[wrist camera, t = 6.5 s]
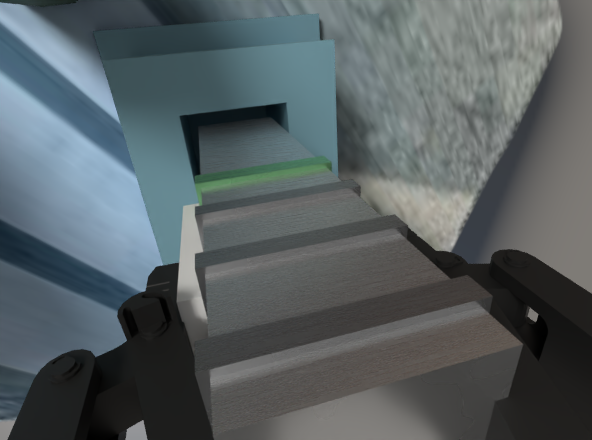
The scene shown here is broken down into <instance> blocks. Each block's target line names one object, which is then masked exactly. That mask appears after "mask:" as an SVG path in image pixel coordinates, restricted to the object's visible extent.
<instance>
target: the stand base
mask: <svg viewBox="0 0 592 440" xmlns="http://www.w3.org/2000/svg"><path fill="white" fill-rule="evenodd" d="M93 33H94V37H95V40H96V43H97V47H98V50H99V53H100V57H101V60H102V63H103V67H104V70H105V73H106V77H107V80H108V83H109V87H110V90H111V93H112V97H113V100H114V103H115V107H116V110H117V113H118V117H119V120H120V123H121V126H122V130H123V133H124V136H125V140H126V143H127V146H128V150H129V153H130V156H131V160H132V163H133V166H134V170H135V173H136V176H137V180H138V183H139V186H140V190H141V193H142V196H143V200H144V203H145V206H146V210H147V213H148V216H149V220H150V223H151V226H152V230H153V233H154V236H155V239H156V242H157V246H158V249H159V252H160V256H161V259H162V262H163V265H166V264H171V263H176V262H179V260H180V246H181V231H182V217H183V206H186V205H191V204H197V203H199V201H198V197H197V192H196V188H195V176H196V175H201V173H200V151H199V130H198V126H205V125H212V124H220V123H228V122H235V121H243V120H251V119H258V118H266V117H271V118H272V119H273V120H275V121H276V122H277V123H278V124H279V125H280V126H281V127H282V128H283V129H285V130H286V131H287V132H288V133H289V134H290V135H291V136H292V137H293V138H295V139H296V140H297V141H298V142H299V143H300V144H301V145H302V146H303V147H305V148H306V149H307V150H308V151H309V152H310V153H311V154H312V155H313V156H315V157H318V156H325V157H326V158H327V159H328V160H330V161H331V162H332V173H333V174H335V175H336V176H337V177H338V154H337V119H336V83H335V47H334V39H333V40H320V32H319V14H307V15H294V16H281V17H268V18H255V19H242V20H229V21H216V22H204V23H191V24H178V25H165V26H152V27H139V28H126V29H113V30H100V31H93Z"/></svg>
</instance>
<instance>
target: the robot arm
mask: <svg viewBox="0 0 592 440" xmlns="http://www.w3.org/2000/svg"><path fill="white" fill-rule="evenodd" d="M195 206H200V205H199V203H197V204H191V205H186V206H183V217H182V231H181V246H180V260H179V262H178V263H173V264H168V265H163V266H158V267H156V268H155V269H154V270H153V271H152V273H151V274H150V275H149V276H148V281H147V288H146V291H145V292H141V293H139V294H137V295H135V296H132V297H131V298H129V299H128V300H127V301H125V302H124V303H123V304H122V306H121V307H120V308H119V310H118V315H117V317H118V319H119V322H120V324H121V326H122V329H123V331H124V334H125V336H126V339H127V341H126V342H125V343H123V344H122V345H121V346H119V347H117V348H115V349H113V350H111V351H109V352H107V353H104V354H102V355H100V356H98V357H96V358H95V356H94V355H93V353H92V352H91V351H88V350H83V349H81V350H73V351H70V352H67V353H64V354H62V355H60V356H58V357H56V358H55V359H53V360H51V361H50V362H48V363H47V364H46V365H45V366H44V367H43V368H42V369H41V370H40V371H39V373H38V374H37V376H36V377H35V379H34V381H33V383H32V385H31V387H30V390H29V392H28V394H27V397H26V399H25V401H24V403H23V406H22V408H21V410H20V412H19V415H18V417H17V419H16V421H15V424H14V426H13V428H12V431H11V433H10V435H9V437H8V440H125V438H126V432H127V429H128V428H129V427H131V426H133V425H135V424H136V423H138V422H140V421H142V420H144V425H145V429H146V434H147V439H148V440H214V438H213V432H212V429H211V425H210V422H209V419H208V415H207V412H206V409H205V405H204V402H203V399H202V396H201V392H200V389H199V386H198V382H197V379H196V376H195V341H197V340H201V339H205V338H208V322H207V315H206V311H205V307H204V304H203V300H202V296H201V292H200V288H199V284H198V280H197V276H196V272H195V254H196V253H201V252H203V249H202V244H201V240H200V236H199V232H198V227H197V223H196V219H195ZM407 240H408V241H409V242H410V243H411V244H412V245H413V246H415V247H416V248H417V249H418V250H419V251H420V252H421V253H422V254H423V255H425V256H426V257H427V258H428V259H429V260H430V261H431V262H432V263H433V264H435V265H436V266H437V267H438V268H439V269H440V270H441V271H442V272H443V273H445V274H446V275H447V276H448V277H449V278H450V279H453V278H457V277H461V276H466V275H468V276H469V277H471V278H472V279H473V280H474V281H475V282H477V283H478V284H479V285H480V286H481V287H483V288H484V289H485V290H486V291H487V292H489V293H490V294H491V295H492V296H493V298H492V303H491V308H490V312H489V314H490V315H491V316H492V317H493V318H495V319H496V320H497V321H498V322H499V323H500V324H501V325H502V326H503V327H505V328H506V329H507V330H508V331H509V332H510V333H511V334H512V335H513V336H515V337H516V338H517V339H518V340H519V341H520V342H521V343H522V344H523V347H522V350H521V354H520V357H519V360H518V364H517V367H516V371H515V374H514V378H513V381H512V385H511V388H510V392H509V395H508V397H507V398H503V399H500V400H497V401H495V404H494V408H493V412H492V416H491V419H490V423H489V427H488V431H487V434H486V438H485V440H592V294H591V293H590V292H588V291H587V290H585V289H584V288H582V287H580V286H579V285H577V284H576V283H574V282H573V281H571V280H570V279H568V278H567V277H565V276H563V275H562V274H560V273H559V272H557V271H556V270H554V269H553V268H551V267H549V266H548V265H546V264H545V263H543V262H542V261H540V260H539V259H537V258H536V257H534V256H532V255H530V254H528V253H525V252H521V251H519V250H512V249H511V250H510V249H508V250H499V251H497V252H495V253H494V254H493V255H492V257H491V262H490V264H468V263H467V262H466V261H465V260H464V259H463V258H462V257H461V256H458V255H456V254H454V253H451V252H446V251H436V250H434V249H433V248H432V247H431V246H430V245H428V244H427V243H426V242H425V241H424V240H423V239H421V238H420V237H419V236H417V234H415V233H414V232H413V231H411V229H409V228H408V229H407ZM530 308H531V309H533V310H534V311H535V312H537V313H538V314H539V315H538V318H537V321H536V322H534V321H532V320H531V319H530V318H529V317H527V316H528V312H529V309H530Z"/></svg>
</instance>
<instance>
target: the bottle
mask: <svg viewBox="0 0 592 440" xmlns="http://www.w3.org/2000/svg"><path fill="white" fill-rule="evenodd" d="M77 1H78V0H0V2H2V3H12V4H21V5H31V6H40V7H45V6H53V5H62V4H71V3H76V2H77Z"/></svg>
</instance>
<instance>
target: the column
mask: <svg viewBox="0 0 592 440" xmlns="http://www.w3.org/2000/svg"><path fill="white" fill-rule="evenodd" d="M198 130H199V151H200V173H201V175H196V176H195V188H196V192H197V197H198V201H199V205H200V206H195V219H196V223H197V227H198V232H199V236H200V240H201V244H202V249H203V252H201V253H196V254H195V272H196V276H197V280H198V284H199V288H200V292H201V296H202V300H203V304H204V307H205V311H206V315H207V322H208V338H205V339H201V340H197V341H195V376H196V379H197V382H198V386H199V389H200V392H201V396H202V399H203V402H204V405H205V409H206V412H207V415H208V419H209V422H210V425H211V429H212V432H213V438H214V440H485V438H486V434H487V431H488V427H489V423H490V419H491V416H492V412H493V408H494V404H495V401H497V400H500V399H503V398H507V397H508V395H509V392H510V388H511V385H512V381H513V378H514V374H515V371H516V367H517V364H518V360H519V357H520V354H521V350H522V347H523V344H522V343H521V342H520V341H519V340H518V339H517V338H516V337H515V336H513V335H512V334H511V333H510V332H509V331H508V330H507V329H506V328H505V327H503V326H502V325H501V324H500V323H499V322H498V321H497V320H496V319H495V318H493V317H492V316H491V315H490V314H489V312H490V308H491V303H492V298H493V296H492V295H491V294H490V293H489V292H487V291H486V290H485V289H484V288H483V287H481V286H480V285H479V284H478V283H477V282H475V281H474V280H473V279H472V278H471V277H469V276H468V275H466V276H461V277H457V278H453V279H450V278H449V277H448V276H447V275H446V274H445V273H443V272H442V271H441V270H440V269H439V268H438V267H437V266H436V265H435V264H433V263H432V262H431V261H430V260H429V259H428V258H427V257H426V256H425V255H423V254H422V253H421V252H420V251H419V250H418V249H417V248H416V247H415V246H413V245H412V244H411V243H410V242H409V241H408V240H407V229H408V225H407V224H405V223H404V222H403V221H402V220H401V219H399V218H398V217H397V216H396V215H395V214H394V215H389V216H384V217H381V216H380V215H379V214H378V213H377V212H376V211H375V210H373V209H372V208H371V207H370V206H369V205H368V204H367V203H366V202H365V201H363V200H362V199H361V198H360V185H358V184H357V183H356V182H355V181H354V180H352V179H351V180H346V181H341V180H340V179H339V178H338V177H337V176H336V175H335V174H333V173H332V162H331V161H330V160H328V159H327V158H326V157H325V156H318V157H315V156H313V155H312V154H311V153H310V152H309V151H308V150H307V149H306V148H305V147H303V146H302V145H301V144H300V143H299V142H298V141H297V140H296V139H295V138H293V137H292V136H291V135H290V134H289V133H288V132H287V131H286V130H285V129H283V128H282V127H281V126H280V125H279V124H278V123H277V122H276V121H275V120H273V119H272V118H271V117H266V118H258V119H251V120H243V121H235V122H228V123H220V124H212V125H205V126H198Z"/></svg>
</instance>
